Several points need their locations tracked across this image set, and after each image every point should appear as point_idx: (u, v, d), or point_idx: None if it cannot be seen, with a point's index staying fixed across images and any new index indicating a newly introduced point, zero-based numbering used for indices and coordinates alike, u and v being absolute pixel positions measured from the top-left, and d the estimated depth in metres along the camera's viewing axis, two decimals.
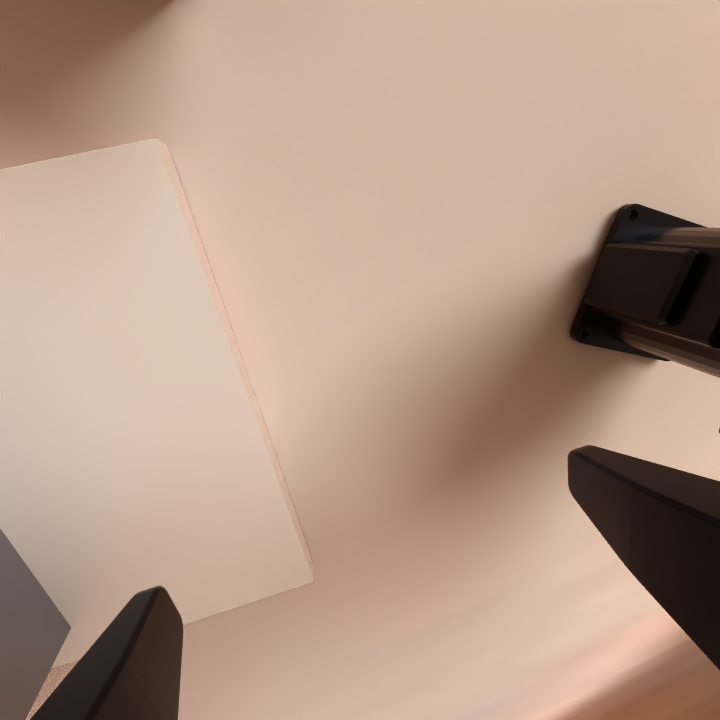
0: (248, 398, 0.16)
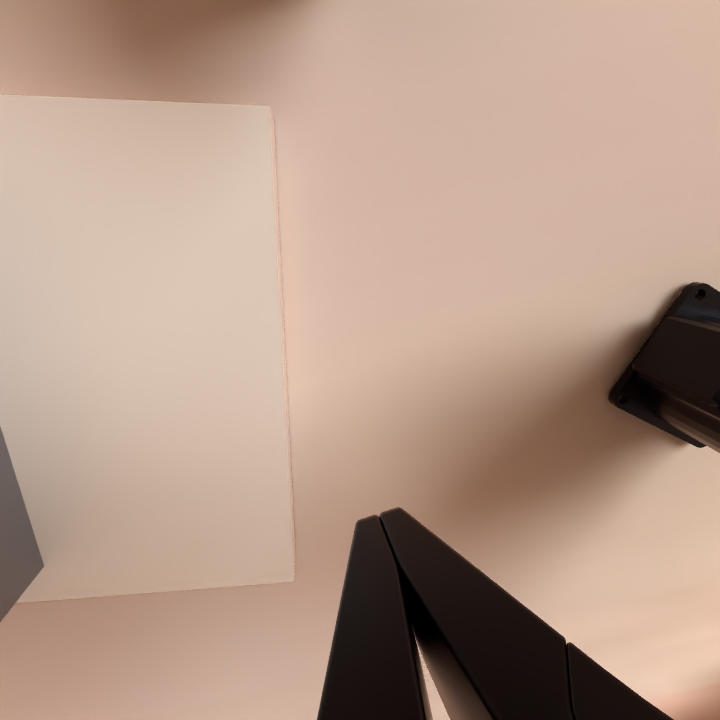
0: (283, 379, 0.16)
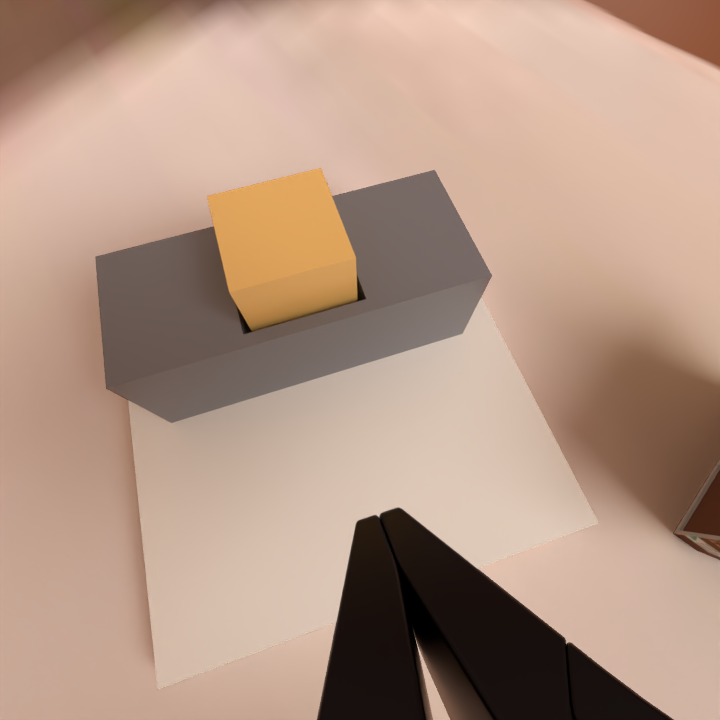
0: None
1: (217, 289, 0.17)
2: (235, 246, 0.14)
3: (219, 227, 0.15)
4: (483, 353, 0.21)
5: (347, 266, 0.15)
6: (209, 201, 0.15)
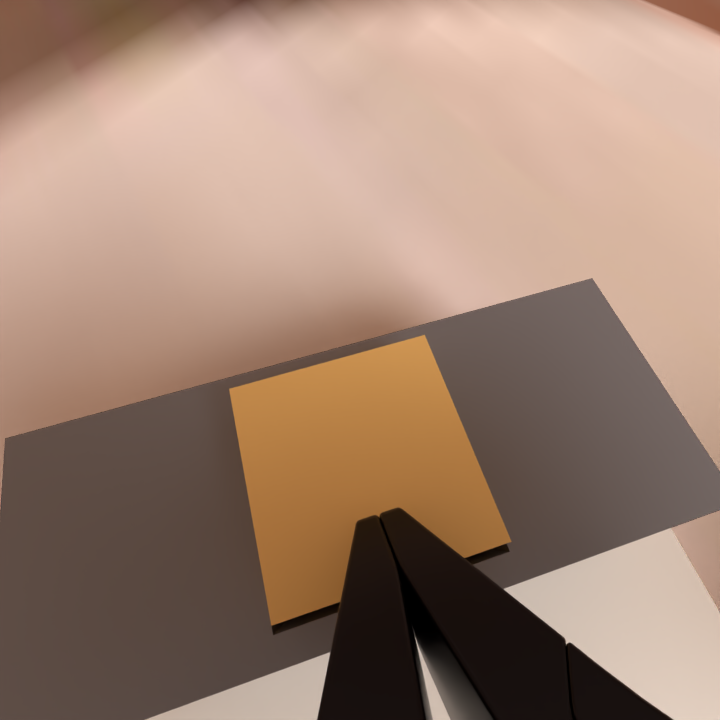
0: None
1: (225, 520, 0.09)
2: (281, 507, 0.08)
3: (251, 460, 0.08)
4: (642, 555, 0.13)
5: (489, 546, 0.08)
6: (233, 401, 0.09)
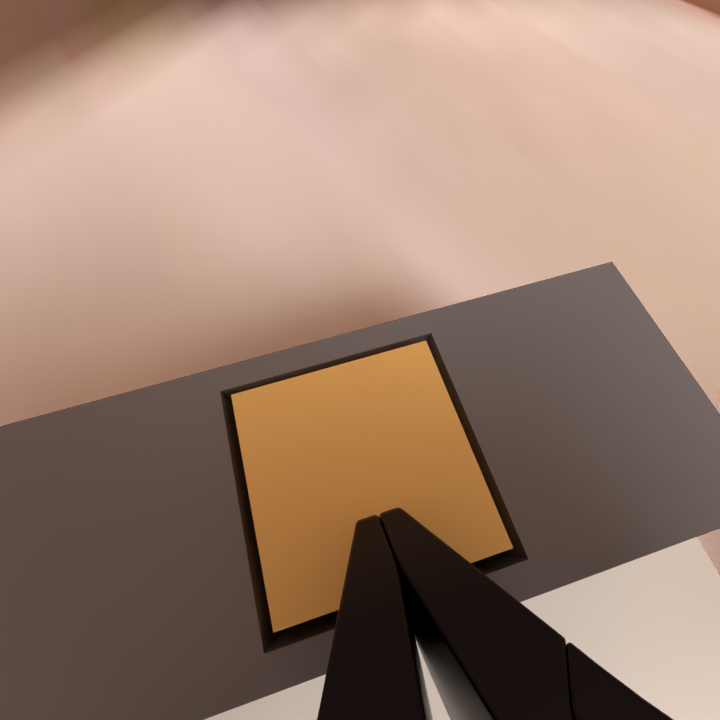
0: None
1: (211, 524, 0.08)
2: (283, 513, 0.08)
3: (253, 467, 0.08)
4: (663, 560, 0.13)
5: (491, 553, 0.08)
6: (235, 407, 0.09)
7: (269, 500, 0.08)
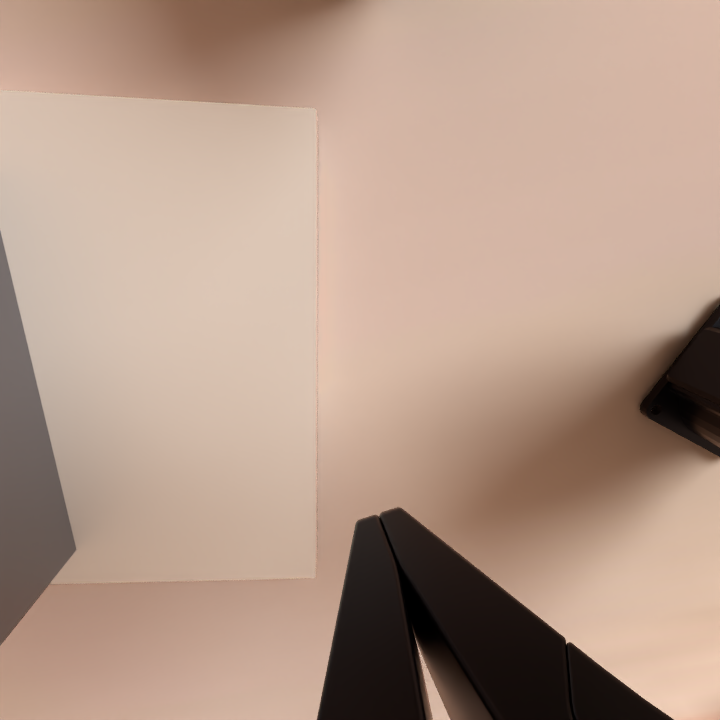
0: (315, 377, 0.16)
1: None
2: None
3: None
4: (26, 142, 0.13)
5: None
6: None
7: None
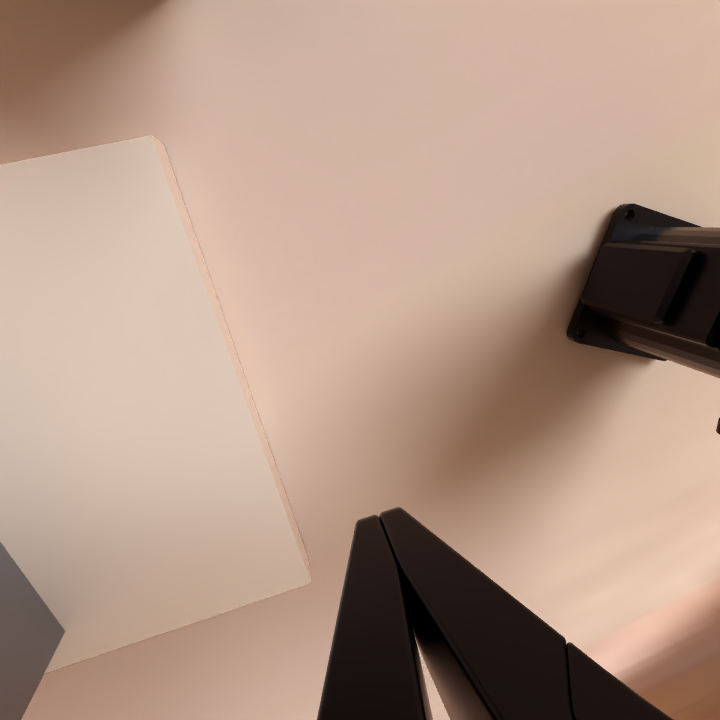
0: (245, 398, 0.16)
1: None
2: None
3: None
4: None
5: None
6: None
7: None
